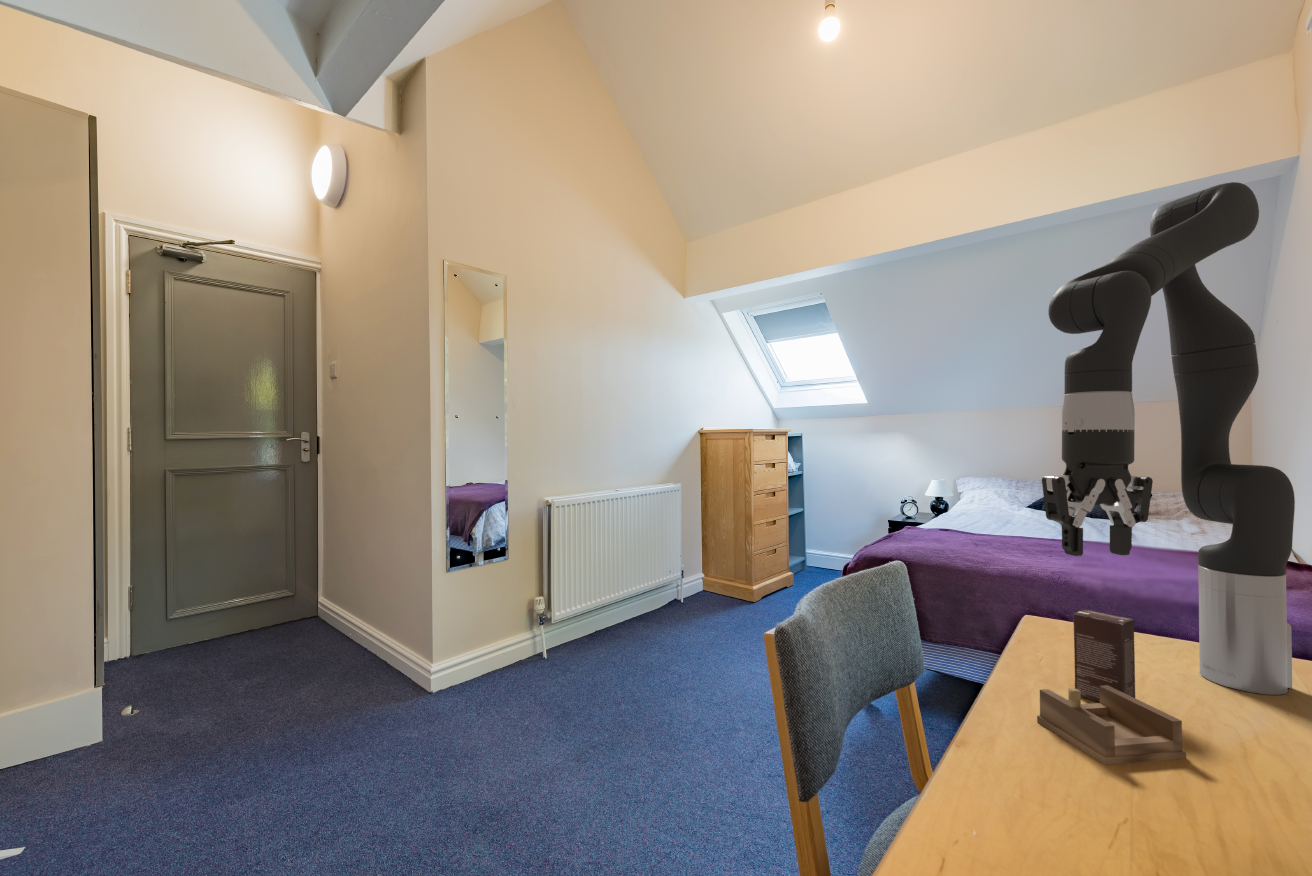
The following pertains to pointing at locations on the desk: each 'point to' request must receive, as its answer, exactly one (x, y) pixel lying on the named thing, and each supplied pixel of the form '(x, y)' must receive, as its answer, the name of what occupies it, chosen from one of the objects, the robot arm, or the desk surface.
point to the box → (1103, 653)
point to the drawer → (1112, 726)
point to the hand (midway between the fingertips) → (1096, 554)
